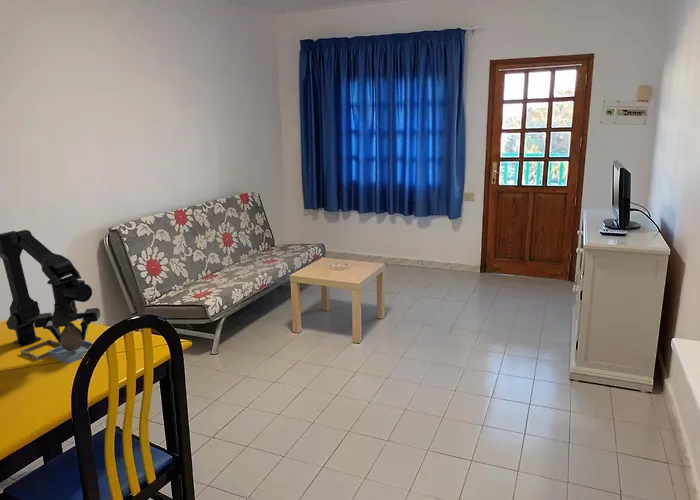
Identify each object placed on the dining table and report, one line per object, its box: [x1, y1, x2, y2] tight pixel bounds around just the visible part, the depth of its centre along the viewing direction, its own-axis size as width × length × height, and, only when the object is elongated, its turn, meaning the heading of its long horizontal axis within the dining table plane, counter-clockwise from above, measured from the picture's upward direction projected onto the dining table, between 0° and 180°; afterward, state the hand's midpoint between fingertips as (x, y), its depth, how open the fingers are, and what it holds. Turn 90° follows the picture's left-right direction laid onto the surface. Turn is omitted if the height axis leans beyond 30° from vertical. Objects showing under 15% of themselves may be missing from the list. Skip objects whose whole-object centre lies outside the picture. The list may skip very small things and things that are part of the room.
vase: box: [60, 322, 84, 351], centre depth 172 cm, size 7×7×9 cm
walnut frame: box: [20, 339, 62, 361], centre depth 176 cm, size 10×10×1 cm
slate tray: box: [47, 339, 93, 365], centre depth 174 cm, size 11×11×2 cm
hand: (72, 341), depth 173 cm, fingers closed on vase, 7 cm apart
